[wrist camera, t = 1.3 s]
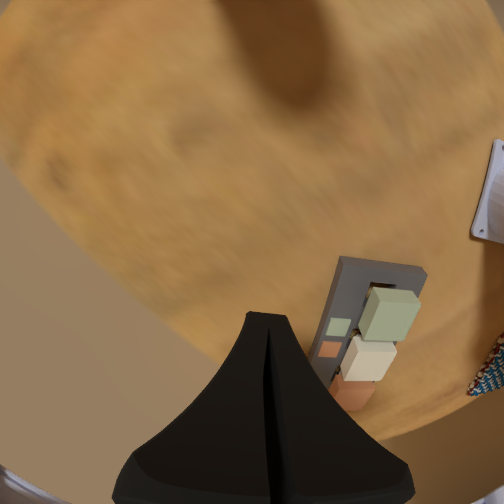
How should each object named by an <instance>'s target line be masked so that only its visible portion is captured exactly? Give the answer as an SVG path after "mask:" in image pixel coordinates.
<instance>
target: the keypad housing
mask: <svg viewBox="0 0 504 504" xmlns="http://www.w3.org/2000/svg"><path fill="white" fill-rule="evenodd" d="M427 276H428V275H427V273H426V272H425V271H424V270H423V268H422V267H418V266H410V265H403V264H396V263H389V262H381V261H374V260H366V259H359V258H352V257H344V256H340V257H339V261H338V264H337V268H336V271H335V275H334V278H333V282H332V285H331V288H330V292H329V295H328V298H327V302H326V305H325V308H324V311H323V314H322V317H321V320H320V324H319V327H318V330H317V333H316V336H315V338H314V341H313V344H312V347H311V350H310V353H309V356H308V361H309V363H310V364H311V366H312V368H313V369H314V371H315V372H316V374H317V375H318V377H319V378H320V380H321V381H322V383H323V384H324V386H325V387H326V388H327V389H329V388H330V386H331V384H332V382H333V380H334V378H335V376H336V375H338V374H339V372H334V371H335V369H336V367H337V366H340V365H341V363H342V361H343V359H344V356H345V354H346V352H347V350H348V347H349V345H350V343H351V341H352V339H349V337H350V335H351V332H352V330H353V329H359V326H358V324H359V322H360V319H361V317H362V314H363V312H364V309H365V306H366V304H367V301H368V299H366V298H365V297H366V294H367V291H368V288H369V286H370V283H371V282H376V283H386V284H388V287H387V288H388V289H398V290H408V291H413V292H414V294H415V295H416V297H417V298H418V297H419V294H420V292H421V290H422V288H423V285H424V283H425V280H426V278H427ZM396 342H397V341H393V344H394V346H395V344H396ZM373 383H374V381H373Z"/></svg>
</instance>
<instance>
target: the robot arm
mask: <svg viewBox="0 0 504 504" xmlns="http://www.w3.org/2000/svg"><path fill="white" fill-rule="evenodd" d="M502 146H503V150H502ZM480 230H481V232H480ZM479 232H480V233H479ZM471 233H472V235H473V236H475V237H478V238H482V239H486V240H490V241H494V242H498V243H502V244H504V141H502V140H499V139H496V140H495V141H494V144H493V149H492V154H491V159H490V163H489V168H488V172H487V176H486V180H485V184H484V188H483V192H482V195H481V199H480V202H479V206H478V209H477V212H476V216H475V219H474V222H473V225H472V228H471ZM414 494H415V488H414V484H413V479H412V475H411V473H410V470H409V467H408V464H407V463H405V462H404V461H402V460H401V459H399V458H398V457H397V456H395V455H394V454H392V453H391V452H389V451H388V450H387V449H385V448H384V447H382V446H381V445H380V444H379V443H378V442H376V441H375V440H374V439H373V438H372V437H371V436H369V435H368V434H367V433H366V432H365V431H364V430H363V429H362V428H361V427H360V426H359V425H358V424H357V423H356V422H355V421H354V420H353V419H352V418H351V417H350V416H349V415H348V414H347V413H346V412H345V411H344V409H343V408H342V407H341V406H340V405H339V404H338V403H337V401H336V400H335V399H334V398H333V396H332V395H331V394H330V392H329V391H328V390H327V388H326V387H325V386H324V384H323V383H322V381H321V380H320V378H319V377H318V375H317V374H316V372H315V371H314V369H313V368H312V366H311V364H310V363H309V361H308V359H307V357H306V356H305V354H304V352H303V350H302V348H301V346H300V345H299V343H298V341H297V339H296V337H295V334H294V332H293V330H292V328H291V326H290V323H289V321H288V318H287V317H286V316H285V315H279V314H270V313H261V312H253V311H249V312H248V313H246V318H245V322H244V325H243V327H242V330H241V332H240V334H239V336H238V338H237V340H236V342H235V344H234V346H233V348H232V350H231V352H230V353H229V355H228V356H227V358H226V360H225V361H224V363H223V364H222V366H221V367H220V369H219V370H218V372H217V373H216V375H215V376H214V377H213V378H212V380H211V381H210V382H209V384H208V385H207V386H206V387H205V389H204V390H203V391H202V392H201V393H200V394H199V395H198V397H197V398H196V399H195V400H194V401H193V402H192V403H191V404H190V405H189V406H188V407H187V408H186V409H185V410H184V411H183V412H182V413H181V414H180V415H179V416H178V417H177V418H176V419H174V420H173V421H172V422H171V423H170V424H169V425H168V426H167V427H165V428H164V429H163V430H162V431H161V432H159V433H158V434H157V435H156V436H154V437H153V438H152V439H150V440H149V441H147V442H146V443H145V444H143V445H142V446H140V447H139V448H138V449H136V450H135V451H134V452H133V453H132V454H131V455H130V457H129V458H128V460H127V461H126V463H125V465H124V466H123V468H122V469H121V472H120V474H119V476H118V478H117V481H116V484H115V487H114V491H113V494H112V499H113V501H114V502H115V504H404V503H405V502H407V501H408V500H410V499H411V498H412V497H413V496H414ZM0 504H71V503H68V502H66V501H64V500H62V499H60V498H58V497H56V496H54V495H52V494H50V493H48V492H46V491H44V490H42V489H40V488H38V487H37V486H35V485H33V484H31V483H29V482H28V481H26V480H24V479H23V478H21V477H19V476H18V475H16V474H14V473H13V472H11V471H9V470H8V469H7V468H5V467H3V466H2V465H0ZM471 504H504V485H502V486H500V487H499V488H497V489H495V490H494V491H492V492H491V493H489V494H487V495H486V496H485V497H484V498H482V499H480V500H478V501H476V502H473V503H471Z"/></svg>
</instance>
